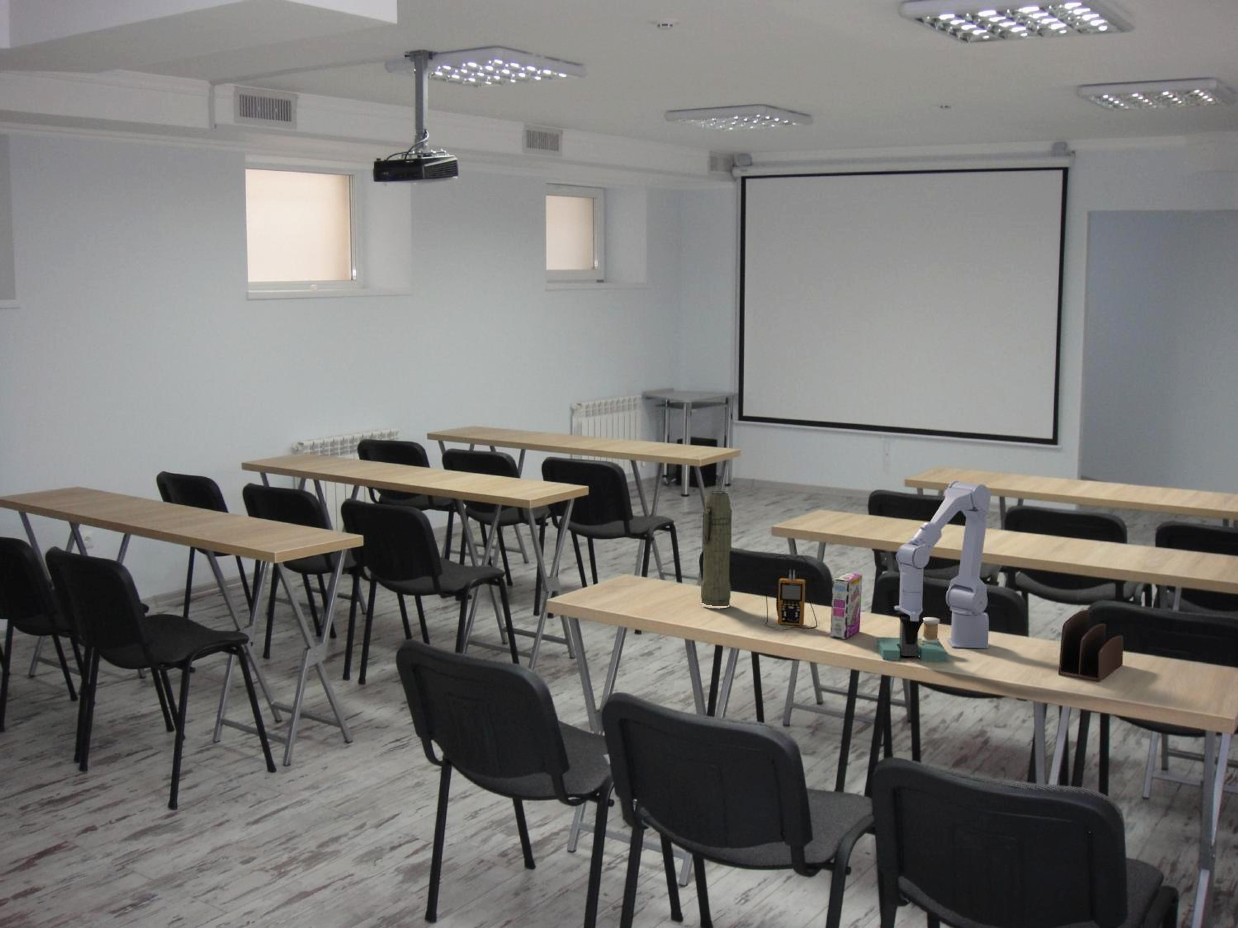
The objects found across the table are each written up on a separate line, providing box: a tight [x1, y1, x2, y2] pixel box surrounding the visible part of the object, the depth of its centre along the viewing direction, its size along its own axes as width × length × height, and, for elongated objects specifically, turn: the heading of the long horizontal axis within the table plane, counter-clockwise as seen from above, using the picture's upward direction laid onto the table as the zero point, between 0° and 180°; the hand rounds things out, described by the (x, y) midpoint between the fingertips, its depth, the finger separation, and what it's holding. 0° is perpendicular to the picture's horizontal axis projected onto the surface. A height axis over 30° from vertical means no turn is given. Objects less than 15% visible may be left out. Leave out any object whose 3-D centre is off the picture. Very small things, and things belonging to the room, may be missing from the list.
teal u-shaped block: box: [876, 616, 948, 662], centre depth 317 cm, size 16×13×8 cm
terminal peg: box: [899, 620, 919, 657], centre depth 314 cm, size 4×4×8 cm
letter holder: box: [1058, 609, 1124, 683], centre depth 303 cm, size 10×20×14 cm, turn 142°
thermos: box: [700, 490, 733, 606], centre depth 367 cm, size 9×12×35 cm
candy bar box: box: [829, 572, 863, 640], centre depth 336 cm, size 11×5×16 cm, turn 149°
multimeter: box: [764, 555, 818, 631], centre depth 342 cm, size 15×10×20 cm
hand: (909, 641), depth 314 cm, fingers closed on terminal peg, 4 cm apart
